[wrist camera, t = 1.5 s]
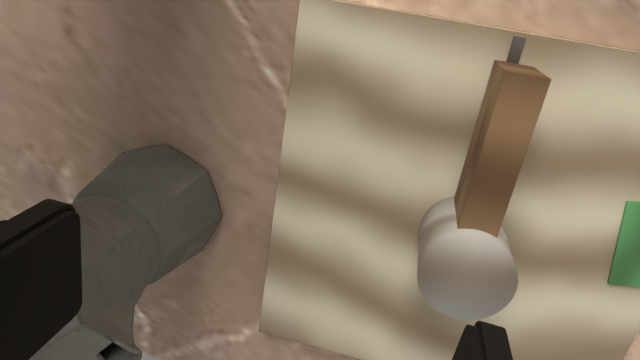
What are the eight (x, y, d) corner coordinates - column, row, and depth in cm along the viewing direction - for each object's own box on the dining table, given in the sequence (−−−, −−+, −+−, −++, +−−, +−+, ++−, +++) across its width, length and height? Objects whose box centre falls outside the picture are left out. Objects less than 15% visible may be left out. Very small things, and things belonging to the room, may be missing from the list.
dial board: (308, -5, 28) (299, -5, 26) (747, 69, 25) (775, 76, 23) (267, 315, 38) (257, 332, 36) (581, 399, 34) (590, 425, 32)
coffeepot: (254, 160, 33) (81, 326, 17) (243, 273, 37) (93, 498, 20) (58, 117, 35) (-267, 226, 19) (66, 227, 39) (-199, 398, 22)
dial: (489, 276, 30) (501, 330, 25) (411, 257, 30) (407, 306, 26) (561, 71, 25) (593, 89, 20) (465, 54, 25) (473, 67, 21)
